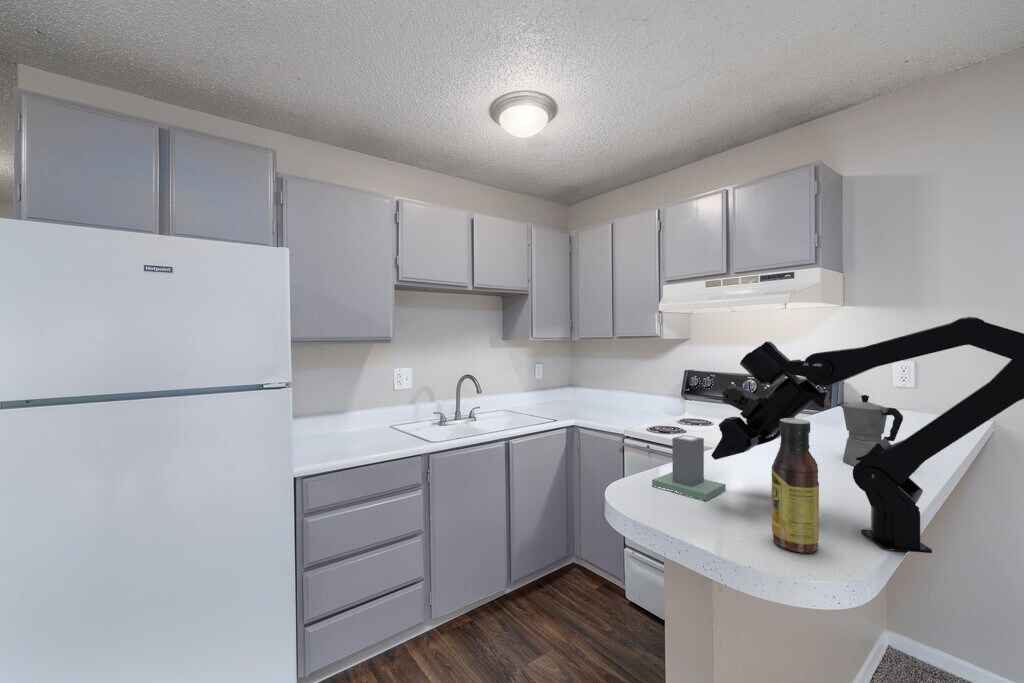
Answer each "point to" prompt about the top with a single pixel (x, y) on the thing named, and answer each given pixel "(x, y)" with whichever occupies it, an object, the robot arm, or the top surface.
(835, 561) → the top surface
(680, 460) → the plug block
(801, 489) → the sauce bottle
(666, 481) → the header board
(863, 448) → the coffeepot
